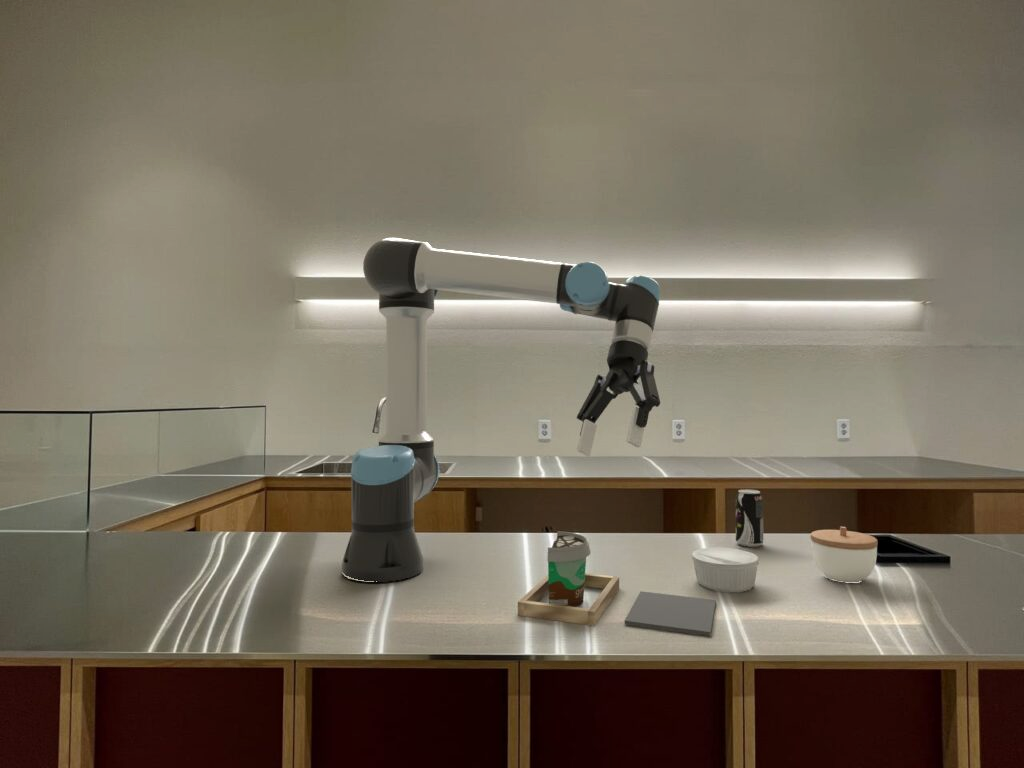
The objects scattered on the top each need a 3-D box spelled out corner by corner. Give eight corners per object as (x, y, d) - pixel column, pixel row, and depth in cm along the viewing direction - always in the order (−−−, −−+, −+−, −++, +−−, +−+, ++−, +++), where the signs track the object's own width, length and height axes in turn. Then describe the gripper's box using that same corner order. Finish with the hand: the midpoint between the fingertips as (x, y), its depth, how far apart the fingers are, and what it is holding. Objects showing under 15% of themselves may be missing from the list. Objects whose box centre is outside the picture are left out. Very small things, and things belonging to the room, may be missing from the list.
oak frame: (517, 615, 94) (517, 601, 94) (553, 580, 110) (553, 569, 110) (594, 625, 89) (594, 612, 89) (619, 588, 106) (619, 576, 106)
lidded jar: (874, 574, 114) (873, 523, 114) (881, 591, 104) (881, 536, 104) (810, 567, 118) (809, 519, 118) (811, 583, 109) (811, 530, 109)
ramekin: (689, 591, 105) (689, 560, 105) (694, 573, 115) (693, 544, 115) (760, 598, 101) (760, 566, 101) (757, 579, 112) (757, 550, 112)
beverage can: (733, 541, 139) (732, 488, 139) (759, 542, 138) (759, 488, 138) (739, 547, 133) (738, 492, 133) (766, 548, 132) (766, 493, 132)
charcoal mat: (624, 624, 90) (624, 620, 90) (640, 594, 103) (640, 591, 103) (710, 636, 85) (710, 632, 85) (715, 603, 98) (715, 599, 98)
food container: (587, 616, 93) (587, 550, 93) (547, 613, 94) (547, 548, 94) (593, 590, 105) (593, 532, 105) (557, 588, 106) (557, 530, 107)
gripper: (692, 340, 110) (673, 448, 102) (601, 371, 131) (579, 463, 122) (663, 320, 107) (641, 430, 99) (575, 355, 128) (550, 449, 119)
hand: (607, 449), depth 110 cm, fingers open, 13 cm apart
